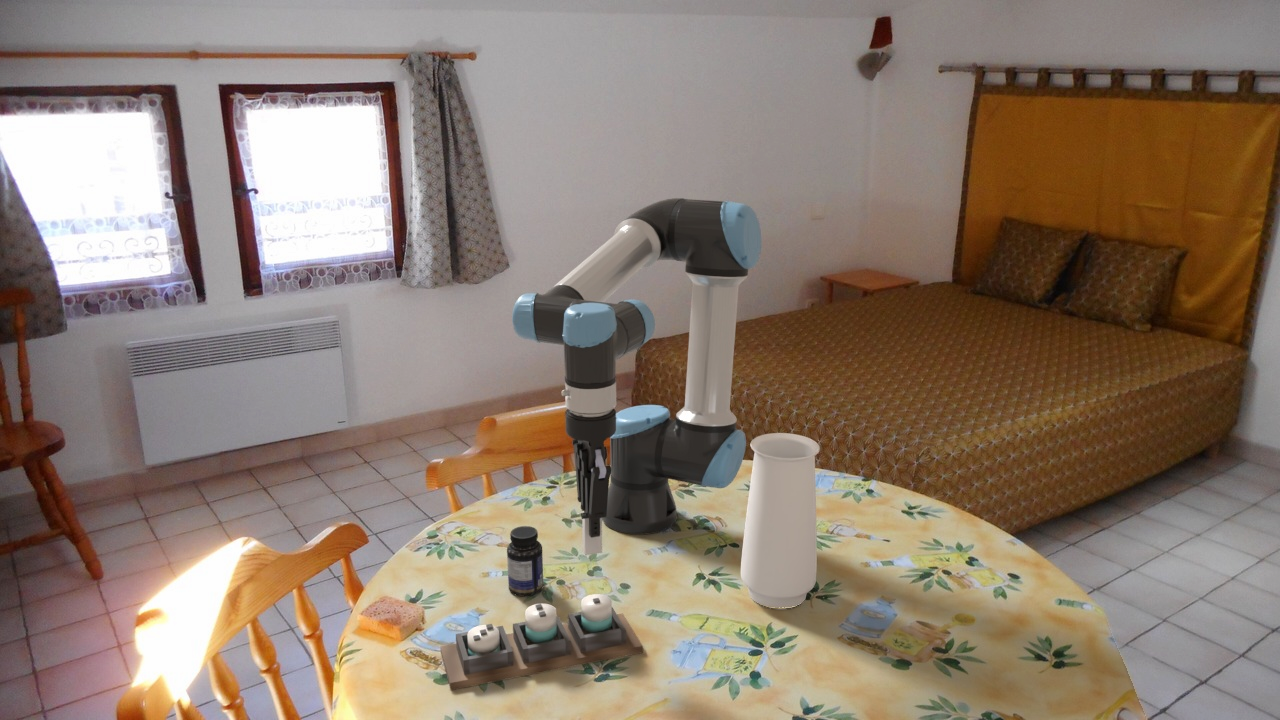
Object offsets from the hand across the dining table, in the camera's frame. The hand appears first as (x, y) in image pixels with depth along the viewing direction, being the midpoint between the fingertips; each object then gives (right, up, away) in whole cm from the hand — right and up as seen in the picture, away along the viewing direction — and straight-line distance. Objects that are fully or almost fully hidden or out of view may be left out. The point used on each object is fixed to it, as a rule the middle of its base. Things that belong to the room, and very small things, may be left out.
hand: (592, 551), depth 152 cm
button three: (-17, -16, -1) cm, 23 cm away
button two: (-8, -13, +1) cm, 15 cm away
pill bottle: (-13, -11, +21) cm, 27 cm away
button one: (+1, -12, +4) cm, 13 cm away
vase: (+31, -11, +19) cm, 38 cm away
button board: (-8, -16, +2) cm, 18 cm away
